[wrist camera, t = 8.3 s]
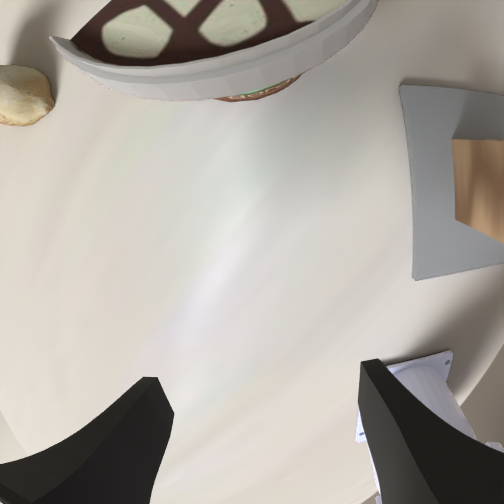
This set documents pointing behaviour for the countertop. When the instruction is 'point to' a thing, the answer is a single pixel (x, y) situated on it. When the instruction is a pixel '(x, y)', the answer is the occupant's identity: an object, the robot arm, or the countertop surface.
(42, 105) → the chocolate bunny
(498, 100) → the slate board
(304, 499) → the countertop surface
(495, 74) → the countertop surface
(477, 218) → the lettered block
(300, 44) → the food container
